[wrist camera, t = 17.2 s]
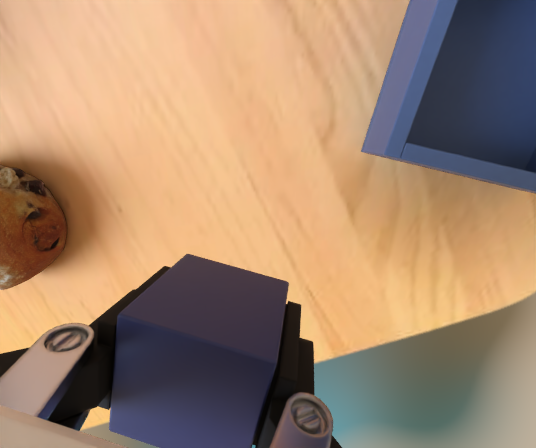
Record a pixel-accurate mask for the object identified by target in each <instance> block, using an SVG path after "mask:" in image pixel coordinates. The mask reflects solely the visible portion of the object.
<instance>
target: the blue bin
mask: <svg viewBox="0 0 536 448" xmlns="http://www.w3.org/2000/svg"><path fill="white" fill-rule="evenodd" d="M361 152H364V153H368V154H372V155H376V156H381V157H385V158H389V159H393V160H397V161H401V162H406V163H410V164H414V165H418V166H422V167H426V168H430V169H435V170H439V171H443V172H447V173H451V174H455V175H460V176H464V177H468V178H472V179H476V180H480V181H484V182H489V183H493V184H497V185H501V186H505V187H509V188H513V189H518V190H522V191H527V192H531V193H536V0H410V2H409V5H408V8H407V11H406V14H405V17H404V20H403V23H402V26H401V29H400V33H399V36H398V39H397V42H396V45H395V48H394V51H393V54H392V57H391V60H390V63H389V67H388V70H387V73H386V76H385V79H384V82H383V85H382V88H381V91H380V94H379V97H378V100H377V104H376V107H375V110H374V113H373V116H372V119H371V122H370V125H369V128H368V131H367V134H366V137H365V141H364V144H363V147H362V150H361Z"/></svg>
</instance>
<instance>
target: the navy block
mask: <svg viewBox="0 0 536 448" xmlns="http://www.w3.org/2000/svg"><path fill="white" fill-rule="evenodd" d="M288 286H289V283H288V282H287V281H283V280H280V279H276V278H272V277H269V276H265V275H262V274H258V273H255V272H251V271H247V270H244V269H240V268H237V267H233V266H230V265H226V264H223V263H219V262H215V261H212V260H208V259H205V258H201V257H198V256H194V255H190V254H186V255H185V256H184V257H183V258H182V259H180V260H179V261H178V262H177V263H176V264H175V265H174V266H172V267H171V268H170V269H169V270H168V271H167V272H166V273H165V274H163V275H162V276H161V277H160V278H159V279H158V280H157V281H155V282H154V283H153V284H152V285H151V286H150V287H149V288H147V289H146V290H145V291H144V292H143V293H142V294H141V295H139V296H138V297H137V298H136V299H135V300H134V301H133V302H132V303H130V304H129V305H128V306H127V307H126V308H125V309H124V310H122V311H121V312H120V313H119V315H118V317H117V330H116V343H115V357H114V370H113V383H112V396H111V410H110V423H109V430H110V431H112V432H115V433H118V434H121V435H124V436H127V437H130V438H133V439H136V440H139V441H142V442H144V443H148V444H150V445H153V446H156V447H160V448H252V445H253V441H254V438H255V435H256V431H257V428H258V425H259V421H260V418H261V415H262V411H263V408H264V405H265V401H266V398H267V395H268V391H269V388H270V385H271V382H272V378H273V375H274V372H275V368H276V365H277V360H278V353H279V347H280V340H281V333H282V326H283V319H284V313H285V306H286V299H287V292H288Z"/></svg>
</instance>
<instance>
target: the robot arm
mask: <svg viewBox="0 0 536 448" xmlns="http://www.w3.org/2000/svg"><path fill="white" fill-rule="evenodd" d="M170 268H171V267H167V266H164V267H163V268H162V269H160V270H159V271H158V272H157V273H155V274H154V275H153V276H152V277H151V278H149V279H148V280H147V281H146V282H145V283H143V284H142V285H141V286H140V287H139V288H137V289H136V290H132V291H131V292H129V293H128V294H127V295H126V296H124V297H123V298H122V299H121V300H120V301H118V302H117V303H116V304H115V305H113V306H112V307H111V308H110V309H108V310H107V311H106V312H105V313H104V314H102V315H101V316H100V317H99V318H97V319H96V320H95V321H94V322H92V323H91V324H90V325H89V326H88V325H85V324H81V323H69V324H63V325H60V326H57V327H54V328H52V329H50V330H48V331H47V332H46V333H44V334H43V335H42V336H41V337H40V338H39V339H38V340H37V341H36V342H35V343H34V344H33V345H32V346H31V347H30V348H25V349H21V350H16V351H12V352H7V353H3V354H0V448H127V447H124V446H121V445H118V444H115V443H112V442H110V441H106V440H103V439H101V438H98V437H95V436H92V435H89V434H86V433H83V432H80V429H81V427H82V425H83V423H84V422H85V420H86V418H87V416H88V414H89V411H90V409H92V408H95V407H97V406H99V407H102V408H105V409H108V410H109V409H110V407H111V396H112V383H113V370H114V357H115V343H116V330H117V317H118V315H119V313H120V312H121V311H122V310H124V309H125V308H126V307H127V306H128V305H129V304H130V303H132V302H133V301H134V300H135V299H136V298H137V297H138V296H139V295H141V294H142V293H143V292H144V291H145V290H146V289H147V288H149V287H150V286H151V285H152V284H153V283H154V282H155V281H157V280H158V279H159V278H160V277H161V276H162V275H163V274H165V273H166V272H167V271H168V270H169V269H170ZM300 318H301V305H300V304H297V303H293V302H290V301H288V304H286V306H285V313H284V319H283V326H282V333H281V340H280V347H279V353H278V360H277V365H276V368H275V372H274V375H273V378H272V382H271V385H270V388H269V391H268V395H267V398H266V401H265V405H264V408H263V411H262V415H261V418H260V421H259V425H258V428H257V431H256V435H255V438H254V441H253V445H256V448H342V447H341V446H340V445H339V443H338V442H337V441H336V439H335V438H334V437H333V436H332V431H333V419H332V415H331V413H330V411H329V409H328V408H327V406H326V405H325V404H324V403H323V402H322V401H321V400H320V399H319V398H317V397H316V396H314V351H313V342H312V341H309V340H305V339H302V338H299V337H300Z"/></svg>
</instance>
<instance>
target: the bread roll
mask: <svg viewBox="0 0 536 448" xmlns="http://www.w3.org/2000/svg"><path fill="white" fill-rule="evenodd" d="M43 185H44V183H43V182H42V181H41V180H38V179H37V178H35V177H33V176H30V175H28V174H26V173H25V172H23V171H22V170H20V169H17V168H9V167H5V166H2V165H0V290H4V289H8V288H11V287H13V286H16V285H18V284H20V283H22V282H25V281H27V280H29V279H31V278H32V277H34V276H35V275H37V274H38V273H40V272H41V271H43V270H44V269H45V268H46V267H47V266H48V265H50V264H51V263H52V262H53V261H54V260H55V259H56V258H57V256H58V255H59V254H60V253H61V252H62V250H63V249H64V245H65V240H66V233H67V225H66V220H65V217H64V214H63V211H62V209H61V208H60V206H59V205H58V203H57V202H56V201H55V199H54V198H53V196H52V194H51V192H50V190H48V189H47V188H45V187H44V186H43Z"/></svg>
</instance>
